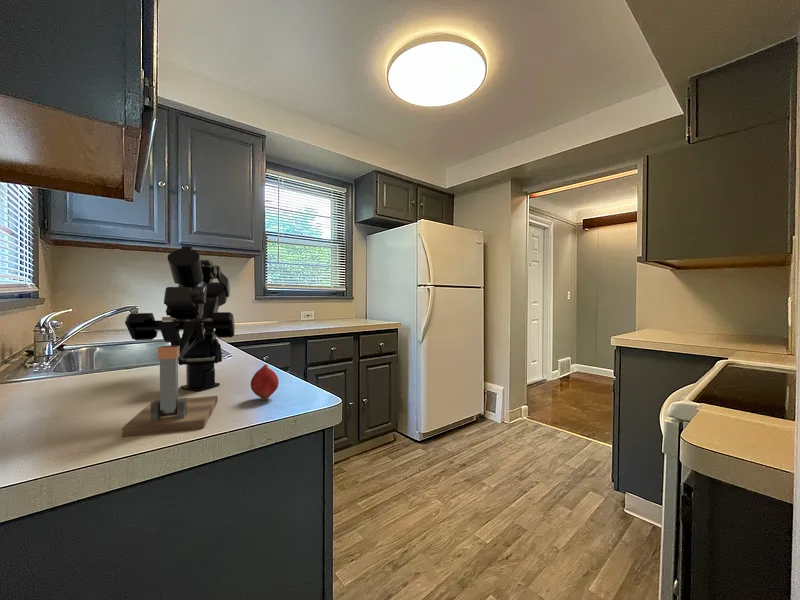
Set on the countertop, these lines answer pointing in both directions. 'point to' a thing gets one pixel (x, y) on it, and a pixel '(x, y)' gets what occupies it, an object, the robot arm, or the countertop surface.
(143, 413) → the lever base
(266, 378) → the onion
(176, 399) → the lever
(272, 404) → the countertop surface
